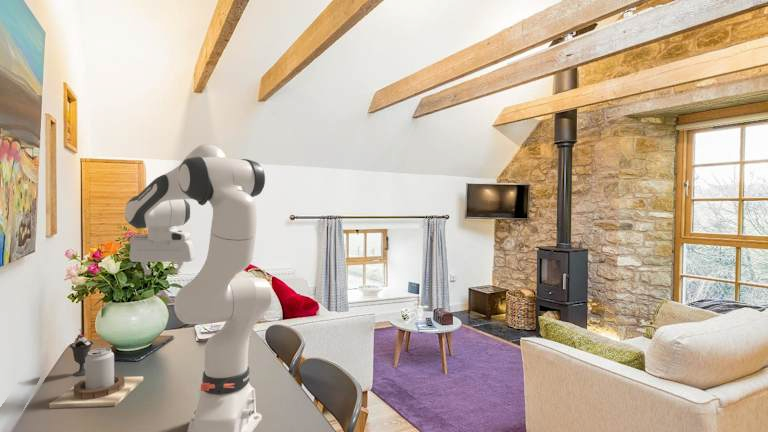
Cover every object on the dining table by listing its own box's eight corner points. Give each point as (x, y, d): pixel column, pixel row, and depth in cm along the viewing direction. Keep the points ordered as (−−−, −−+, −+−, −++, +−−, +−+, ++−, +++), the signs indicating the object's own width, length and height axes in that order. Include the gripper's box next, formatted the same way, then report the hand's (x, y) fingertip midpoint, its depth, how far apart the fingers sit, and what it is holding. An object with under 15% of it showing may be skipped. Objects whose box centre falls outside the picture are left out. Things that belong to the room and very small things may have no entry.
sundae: (82, 368, 153) (81, 326, 152) (98, 370, 152) (97, 327, 151) (64, 376, 147) (64, 332, 146) (81, 378, 145) (80, 333, 145)
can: (79, 391, 133) (79, 352, 132) (103, 382, 140) (102, 345, 139) (96, 396, 130) (96, 356, 130) (119, 386, 137) (119, 348, 137)
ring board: (115, 405, 127) (115, 395, 127) (49, 408, 125) (49, 397, 125) (143, 379, 145) (143, 370, 144) (85, 381, 143) (85, 371, 143)
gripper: (125, 235, 145) (125, 276, 145) (189, 235, 147) (189, 276, 147) (134, 233, 151) (134, 273, 152) (195, 233, 153) (195, 273, 154)
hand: (162, 274), depth 149 cm, fingers open, 8 cm apart
